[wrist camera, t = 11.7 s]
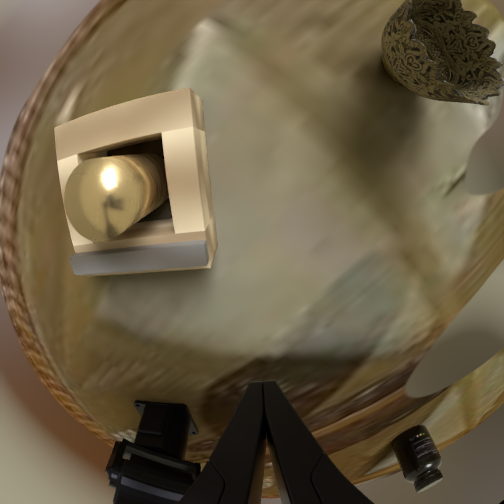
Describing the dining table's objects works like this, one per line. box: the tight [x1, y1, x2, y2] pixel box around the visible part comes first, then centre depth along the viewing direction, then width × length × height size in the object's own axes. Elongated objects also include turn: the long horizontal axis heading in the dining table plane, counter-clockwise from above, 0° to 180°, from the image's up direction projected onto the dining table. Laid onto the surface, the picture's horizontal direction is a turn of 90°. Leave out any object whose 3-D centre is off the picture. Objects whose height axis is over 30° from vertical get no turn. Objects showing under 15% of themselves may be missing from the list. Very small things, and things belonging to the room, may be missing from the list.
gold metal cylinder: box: [64, 153, 169, 242], centre depth 14 cm, size 4×4×7 cm
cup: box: [382, 0, 504, 105], centre depth 10 cm, size 8×7×8 cm
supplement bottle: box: [392, 425, 443, 493], centre depth 26 cm, size 7×7×12 cm
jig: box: [55, 88, 218, 277], centre depth 15 cm, size 10×9×5 cm
